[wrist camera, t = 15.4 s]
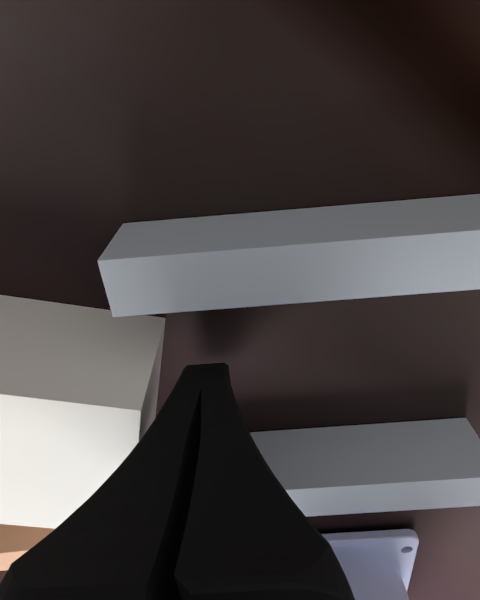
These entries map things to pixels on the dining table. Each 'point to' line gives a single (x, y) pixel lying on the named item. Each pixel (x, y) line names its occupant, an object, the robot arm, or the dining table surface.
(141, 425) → the white block
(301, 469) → the dock
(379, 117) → the dining table surface
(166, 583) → the robot arm
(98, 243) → the dining table surface
